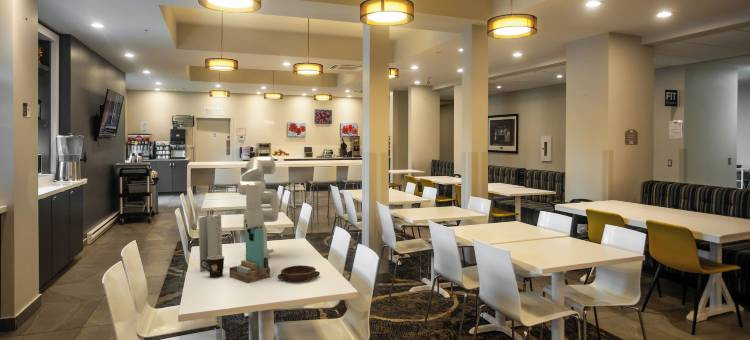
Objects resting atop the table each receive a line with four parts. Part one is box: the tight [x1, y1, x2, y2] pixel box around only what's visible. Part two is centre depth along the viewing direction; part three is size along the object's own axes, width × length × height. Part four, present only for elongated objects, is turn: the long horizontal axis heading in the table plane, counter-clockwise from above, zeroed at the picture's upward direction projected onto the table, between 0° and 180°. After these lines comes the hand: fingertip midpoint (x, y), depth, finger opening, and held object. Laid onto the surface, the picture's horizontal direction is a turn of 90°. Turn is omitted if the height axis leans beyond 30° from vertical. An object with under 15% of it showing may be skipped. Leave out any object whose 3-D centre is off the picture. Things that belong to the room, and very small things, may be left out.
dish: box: [276, 265, 320, 283], centre depth 245 cm, size 18×22×5 cm
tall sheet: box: [244, 227, 264, 270], centre depth 250 cm, size 3×12×22 cm, turn 49°
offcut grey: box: [236, 265, 251, 275], centre depth 245 cm, size 2×10×6 cm, turn 49°
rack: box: [228, 257, 271, 284], centre depth 248 cm, size 14×16×10 cm
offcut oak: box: [240, 259, 258, 271], centre depth 248 cm, size 2×12×8 cm, turn 49°
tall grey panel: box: [198, 213, 223, 273], centre depth 264 cm, size 14×6×30 cm, turn 168°
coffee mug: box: [199, 255, 225, 278], centre depth 251 cm, size 12×9×10 cm
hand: (254, 239), depth 250 cm, fingers closed on tall sheet, 3 cm apart
